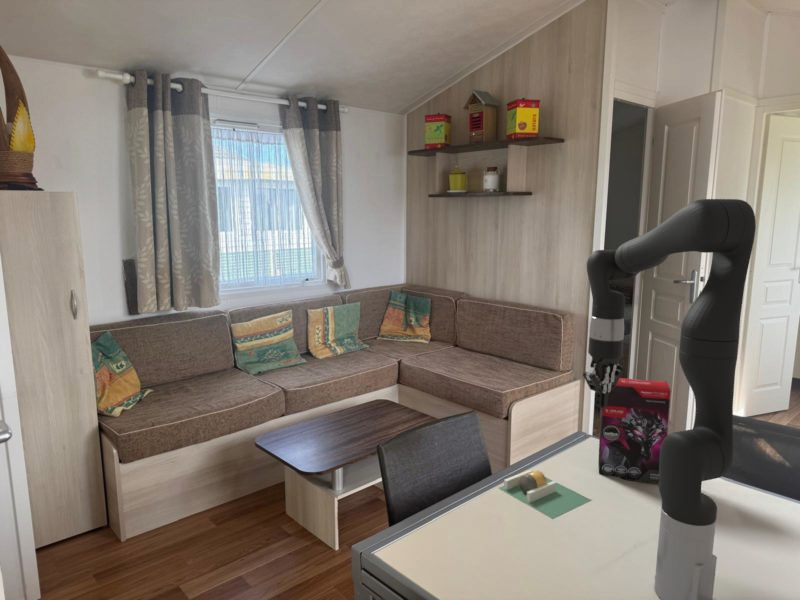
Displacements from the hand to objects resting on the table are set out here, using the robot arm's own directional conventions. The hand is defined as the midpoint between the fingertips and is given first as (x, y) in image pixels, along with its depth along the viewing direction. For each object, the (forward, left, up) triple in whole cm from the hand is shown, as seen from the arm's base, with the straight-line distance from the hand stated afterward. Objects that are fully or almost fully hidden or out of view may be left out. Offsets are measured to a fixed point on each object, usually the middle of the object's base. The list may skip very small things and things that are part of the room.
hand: (601, 406), depth 134 cm
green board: (+12, +4, -27) cm, 30 cm away
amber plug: (+16, +6, -26) cm, 31 cm away
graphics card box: (+6, -24, -27) cm, 37 cm away
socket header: (+16, +6, -27) cm, 32 cm away
